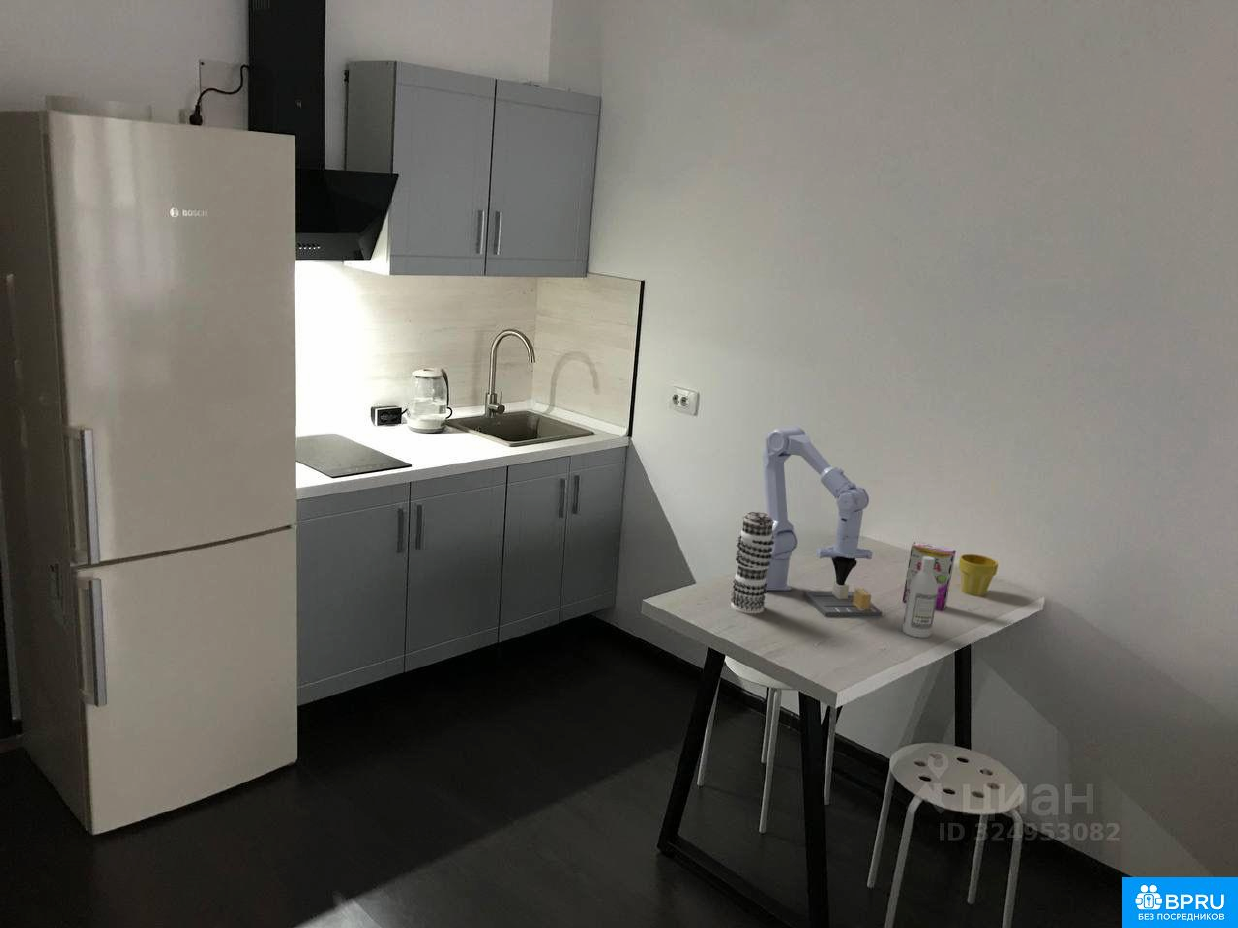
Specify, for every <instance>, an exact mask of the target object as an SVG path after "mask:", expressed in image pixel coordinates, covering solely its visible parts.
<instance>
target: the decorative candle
mask: <svg viewBox="0 0 1238 928" xmlns="http://www.w3.org/2000/svg"><path fill="white" fill-rule="evenodd" d="M741 520H742V526H741V527H742V528H741V530H740V535H739V536H738V537H737V545H736V547H737V548H738V549H737V551H736V557H735V561H736V562H735V563H736V564H737V567H736V568H737V570H736V573H735V578H734V580H733V586H732V588H733V591H732V592H731V595H732V597H731V604H730V606H731V608H732V609H734V610H735V611H738V612H740V613H745V614H760V613H762V612H764V609H765V607H764V606H765V603H766V602H765V600H766V595H765V594H766V593H767V590H766V589H765V588H766V587H767V584H766V579H767V577H766V573H767V568H769V565H770V562H769V561H768V559H769V558H771V554H770V552H772V549H771V548H770V547H769V546H770V545H773V544H774V542H773V541H772V539H773V538H774V537H772V526H773V524H774V521H773V520H771V518H770V516H769V515H767V513H765V512H758V511H751V512H748V513H747V514H746V516H744V517H743V516H742V518H741Z"/></svg>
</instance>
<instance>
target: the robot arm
mask: <svg viewBox="0 0 1238 928" xmlns="http://www.w3.org/2000/svg"><path fill="white" fill-rule="evenodd" d="M791 456H799V457H801V458H802V459H803V460H804V461H805V462H806V463H807V464H808V465H809V466H810V467H812V469H813V470H814V471H815V472H817V474H819V475H820V483H821V484H822V485H823V486H824V487H825V488H826V489H827V490H828V491H829V492H830V494H831V495H832V496H833V497H834V499H836V505H837V508H838V515H839V516H838V520H837V526H836V527H837V528H836V532H835V533H836V535H835V540H834V541H835V542H834V546H833V547H832V546H831V547H826V548H825V547H824V548H817V550H816V551H817V552H816V556H817V557H818V558H819V559H824V558H829V559H831V561H832V564H833V568H834V571H835V572H834V573H835V579H836V583H837V584H838V585H844V584H845V582H847V579H848V578H849V575H850V573H851V572H852V571H853V569H854V567H856V565H857V562H858V561H857V560H856V559H867V560H872V558H873V552H872V551H871V550H870V549H863V548H862V549H861V548H858V545H859V538H860V532H861V527H862V519H863V513H864V510H865V509H866V508H867V507H868V505H869V503H870V497H869V494H868V493H867V491H866V489H865V488H863V487H860V486H856V484H855V483H854V482H852V480H850V478H848V477H847V476H846V475H845V471H844V470H843V469H842V468H838V467H837V466H831V465H830V464H829V463H828V462H827V460H826V459H825V458H824V457H823V455H822V454H821V452H819V450H818V449H817V448H816V447H815V445H814V444H813V442H811V438H810V436H809V435H808V434H806V432H805V431H804V430H803V429H802V428H800V427H792V428H791V427H790V428H785V429H774V430H772V431H771V432H770V433H769V434H767V436H766V437H765V448H764V452H763V457H762V461H763V473H764V475H763V476H764V491H765V504H766V514H767V515H769V516H770V518H771V520H773V521H774V524H773V526H772V537H774V538H773V539H772V541H773V542H774V544H773V545H770V546H769V547H770V548H771V549H772V552H770V554H771V558H769V559H768V561H769V562H770V565H769V568H767V573H766V577H767V579H766V584H767V587H766V588H765V589H766V591H778V592H779V591H784V592H785V591H789V592H790V591H792V588H791V587H790V586H789V585H788V584H787V583H788V577H789V576H788V575H789V568H790V561H791V556H792V553H793V552H794V551H795V550H796V549H797V547H798V537H797V535H796V533H795V528H794V527H795V526H794V524H792V523H791V522H790V521H789V519H788V506H787V502H788V500H787V492H786V491H787V490H786V489H787V487H786V476H785V475H786V474H785V473H786V472H785V462H786V461H787V460H788V459H790V457H791Z"/></svg>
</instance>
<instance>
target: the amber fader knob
mask: <svg viewBox="0 0 1238 928" xmlns="http://www.w3.org/2000/svg"><path fill="white" fill-rule="evenodd" d="M854 592H855V593H854V600H853V604H855V605H856V606H857V607H858V608H859V609H868V610H869V607H870V602H871V600H872V594H871V593H869V591H867V590H866V589H864V588H854Z"/></svg>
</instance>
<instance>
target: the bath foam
mask: <svg viewBox="0 0 1238 928" xmlns="http://www.w3.org/2000/svg"><path fill="white" fill-rule="evenodd" d="M934 561H935V559H934V558H933V557H930V556H923V558H922V564H921V570H920V571H919V572H918V573H917V574H916V575H915V577H914V578H913V579H912V581H911V583H910V586H909V591H908V597H907V602H906V605H905V611H904V616H903V623H902V624H903V625H902V631H903V632H904V634H906V635H908V636H910V637H914V638H917V637H918V639H926V638H929V637H930V636H931V634H932V628H933V624H934V619H935V611H936V609H935V607H936V601H937V595H938V584H937V581H936V579H935V577H934V575H933V567H934Z"/></svg>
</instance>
